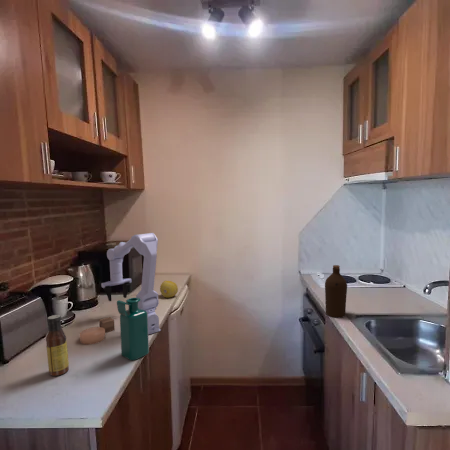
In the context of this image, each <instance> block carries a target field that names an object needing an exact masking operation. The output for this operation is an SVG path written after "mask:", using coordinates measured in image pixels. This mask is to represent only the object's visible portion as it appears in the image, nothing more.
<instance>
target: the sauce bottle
mask: <svg viewBox="0 0 450 450" xmlns="http://www.w3.org/2000/svg"><path fill="white" fill-rule="evenodd" d="M46 319H47V323H48V332H47V335H46V338H45V341H46V354H47V364H48V365H47V366H48V372H49V375H50V376H52V377H58V376H61V375H64V374H66V373H68V371H69V369H70V368H69V367H70V362H69V352H68V351H69V350H68V342H67V341H68V340H67V336H66V334H65V332H64V329H63V327H62V324H61V320H62V317H61V315H60V314H53V315H51V316H48V317H47V318H46Z"/></svg>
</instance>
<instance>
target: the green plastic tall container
mask: <svg viewBox="0 0 450 450" xmlns="http://www.w3.org/2000/svg"><path fill="white" fill-rule="evenodd" d="M140 300H141V299H140V298H136V297H130V298H129V297H128V298H126V300H125V301H123V300H121V299H120V300H117V301H116V307H117V311H118V313H119V327H120V328H119V329H120V349H121V351H120V353H121V356H122V357H124V358H126V359H128V360H130V361H135V360H138V359H140V358H142V357H145V356H146V355H148V354H149V353H150V349H149V348H150V347H149V346H150V343H149V341H150V340H149V335H148V314H147V312H146V311H145V310H142V309H139V307H138V302H139V301H140ZM126 305H127V306H128V308H127V309H126Z"/></svg>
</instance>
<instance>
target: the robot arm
mask: <svg viewBox="0 0 450 450" xmlns="http://www.w3.org/2000/svg"><path fill="white" fill-rule="evenodd" d="M158 242H159V239H158V237H157V236H156V234H155V233H154V232H148V233H140V234H133V235H132V236H131V237H130V239H128V241H126V242H125V241H124V242H123V241H121V242H119V244H117V245H115V246H114V248H109V249H108V250H107V251H106V257H107V259H108V260H109V272H110V275H109V276H110V281H109V280H108V281H105V282H101V288H103V290H104V292H105V294H106V296H107V299H108V302H112V290H113V289H112V287H113V286H118V285H122V296H123V298H124V299H127V298H128V297H127V295H128V292H129V290H130V287H131V283H132V278H130V277H129V278H123V277H124V276H123V262H124V257H125V255H127V254H129V253H130V252H131V249H133V248H134V249H135V250H136V252H138V254H139V255H142V256H143V263H142V264H143V266H142V274H141V275H142V277H141V288H140V290H139V292H138V293H137V294H136V295H135V298H140V299H141V300H140V301H139V302H138V307H139V309H142V310H145V311H146V312H147V314H148V336H149V335H151V334H154V333H157V332H161V331H162V329H160V318H159V315H158V314H157V313H156V310H157V307H158V306H159V305H160V304H159V303H160V301H159V293H158V292H157V291H155V290H154V288H155V280H156V279H155V277H156V268H157V259H158V258H157V257H158V253H157V252H158V244H159V243H158Z"/></svg>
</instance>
